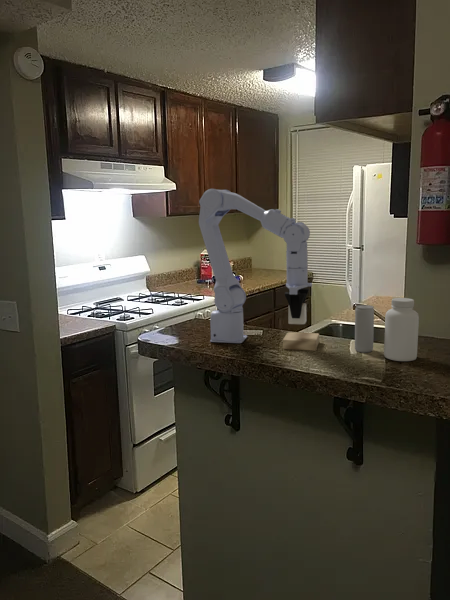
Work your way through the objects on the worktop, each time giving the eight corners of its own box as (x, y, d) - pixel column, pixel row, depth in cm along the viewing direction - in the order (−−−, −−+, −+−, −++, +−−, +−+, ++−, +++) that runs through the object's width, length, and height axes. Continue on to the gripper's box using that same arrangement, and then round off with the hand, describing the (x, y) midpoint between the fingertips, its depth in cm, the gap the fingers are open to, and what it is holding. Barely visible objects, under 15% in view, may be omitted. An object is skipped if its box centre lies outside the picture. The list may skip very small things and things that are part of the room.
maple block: (282, 350, 140) (282, 339, 139) (287, 342, 148) (287, 332, 148) (315, 352, 137) (315, 341, 137) (319, 343, 146) (319, 333, 145)
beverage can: (369, 354, 132) (370, 308, 130) (351, 351, 135) (352, 307, 133) (375, 349, 136) (377, 305, 134) (358, 347, 139) (359, 304, 137)
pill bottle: (423, 360, 125) (426, 301, 123) (393, 363, 124) (395, 302, 122) (407, 352, 133) (409, 295, 131) (378, 354, 132) (379, 297, 129)
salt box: (288, 323, 140) (288, 305, 139) (290, 320, 144) (290, 302, 143) (304, 324, 138) (304, 305, 137) (306, 321, 143) (306, 302, 142)
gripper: (308, 270, 130) (308, 322, 133) (314, 264, 144) (314, 311, 146) (281, 270, 132) (281, 321, 135) (290, 264, 146) (290, 311, 148)
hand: (297, 316), depth 141 cm, fingers closed on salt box, 4 cm apart
